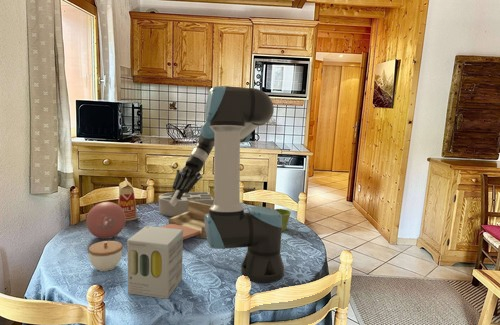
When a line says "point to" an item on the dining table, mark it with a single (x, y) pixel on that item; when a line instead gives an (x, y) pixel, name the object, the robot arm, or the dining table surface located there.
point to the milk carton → (127, 200)
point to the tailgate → (184, 230)
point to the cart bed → (193, 217)
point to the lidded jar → (105, 255)
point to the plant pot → (284, 217)
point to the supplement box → (155, 261)
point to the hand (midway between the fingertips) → (172, 204)
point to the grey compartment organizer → (182, 202)
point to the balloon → (106, 220)
